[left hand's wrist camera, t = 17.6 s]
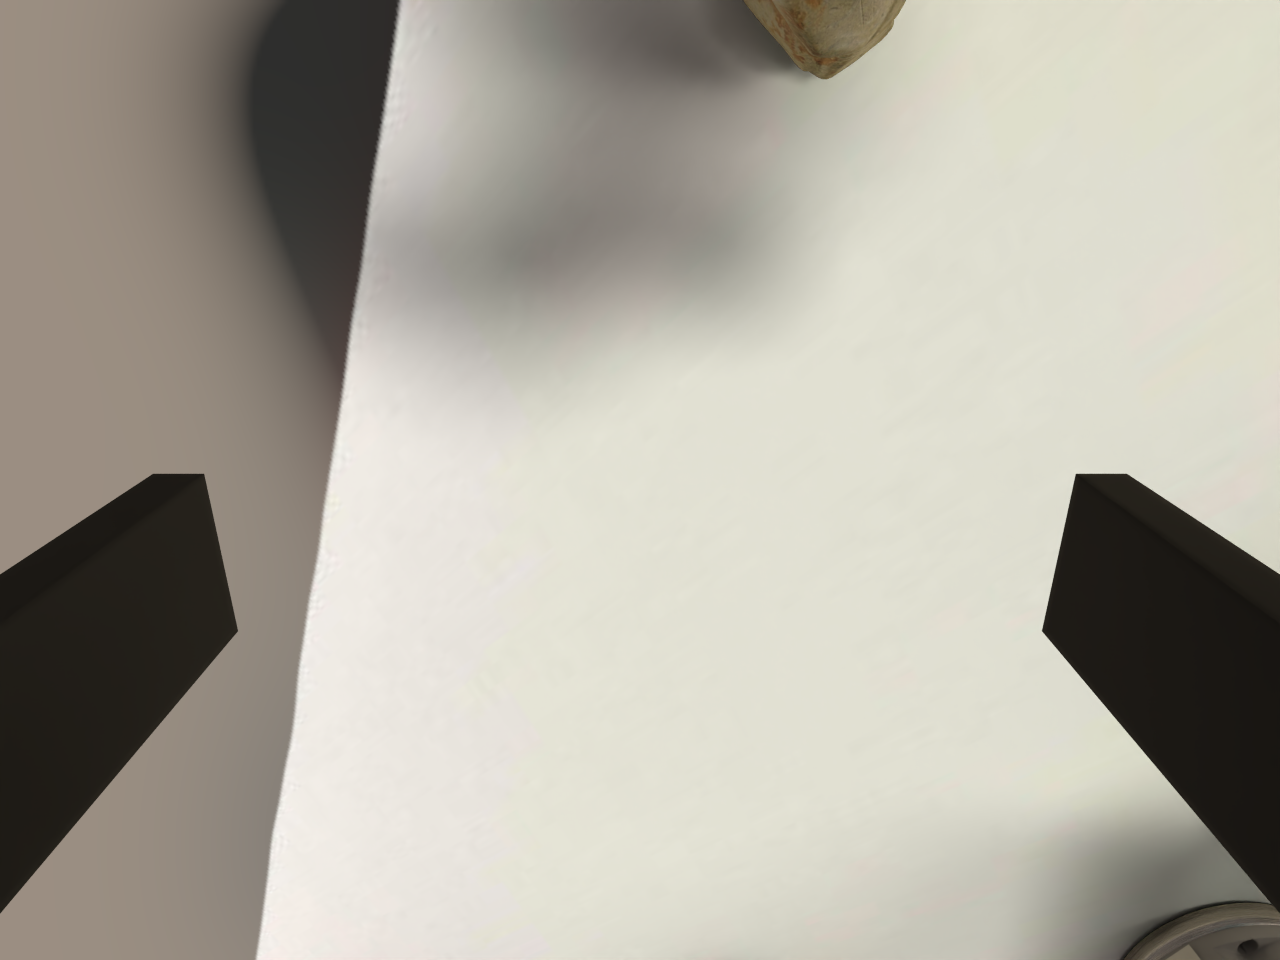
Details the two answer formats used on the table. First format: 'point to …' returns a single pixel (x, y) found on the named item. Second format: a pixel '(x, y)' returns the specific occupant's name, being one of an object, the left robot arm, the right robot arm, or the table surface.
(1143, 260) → the table surface
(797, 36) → the sculpture
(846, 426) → the table surface
